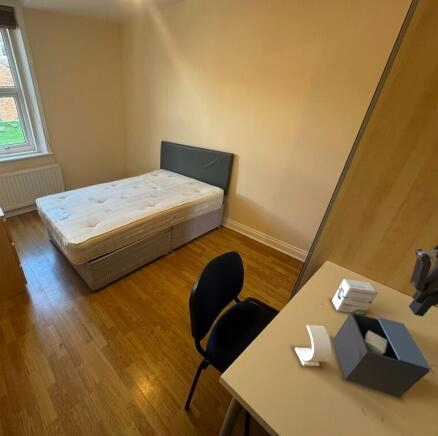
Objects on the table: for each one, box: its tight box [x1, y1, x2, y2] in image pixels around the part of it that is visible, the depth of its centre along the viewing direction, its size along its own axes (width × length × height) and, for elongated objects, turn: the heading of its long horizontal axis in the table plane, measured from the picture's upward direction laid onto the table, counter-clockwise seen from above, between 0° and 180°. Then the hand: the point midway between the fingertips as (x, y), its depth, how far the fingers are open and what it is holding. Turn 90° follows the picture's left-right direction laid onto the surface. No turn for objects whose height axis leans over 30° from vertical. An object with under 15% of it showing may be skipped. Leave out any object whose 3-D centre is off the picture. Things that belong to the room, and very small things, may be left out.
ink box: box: [331, 278, 379, 316], centre depth 83 cm, size 9×5×12 cm, turn 75°
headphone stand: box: [294, 324, 332, 367], centre depth 68 cm, size 5×6×12 cm
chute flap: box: [376, 316, 432, 370], centre depth 61 cm, size 6×13×1 cm, turn 158°
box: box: [363, 331, 388, 355], centre depth 66 cm, size 5×4×11 cm
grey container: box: [333, 312, 431, 399], centre depth 65 cm, size 12×13×14 cm
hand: (415, 311), depth 56 cm, fingers closed
